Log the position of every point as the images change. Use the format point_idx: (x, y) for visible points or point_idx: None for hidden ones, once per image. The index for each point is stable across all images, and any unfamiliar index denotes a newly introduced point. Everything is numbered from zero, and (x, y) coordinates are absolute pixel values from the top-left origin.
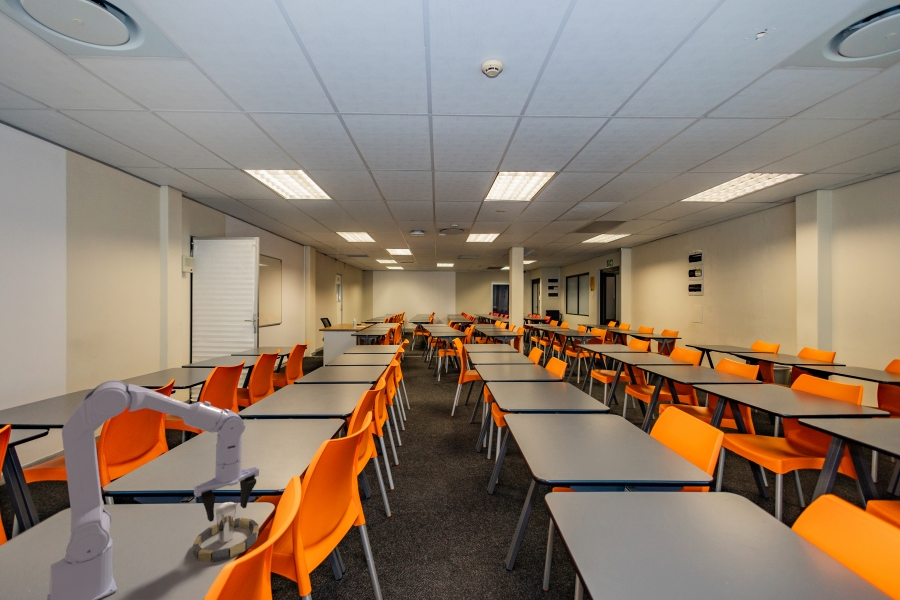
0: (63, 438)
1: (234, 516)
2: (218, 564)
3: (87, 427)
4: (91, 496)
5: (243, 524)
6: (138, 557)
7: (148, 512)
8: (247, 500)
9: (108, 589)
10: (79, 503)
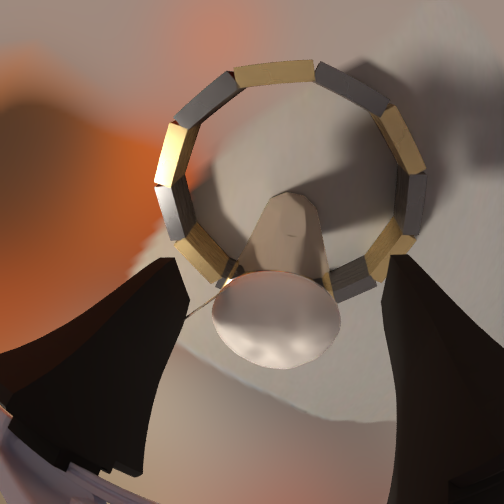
0: None
1: (240, 256)
2: (362, 60)
3: None
4: None
5: (210, 250)
6: (477, 307)
7: (369, 418)
8: (124, 284)
9: None
10: None
